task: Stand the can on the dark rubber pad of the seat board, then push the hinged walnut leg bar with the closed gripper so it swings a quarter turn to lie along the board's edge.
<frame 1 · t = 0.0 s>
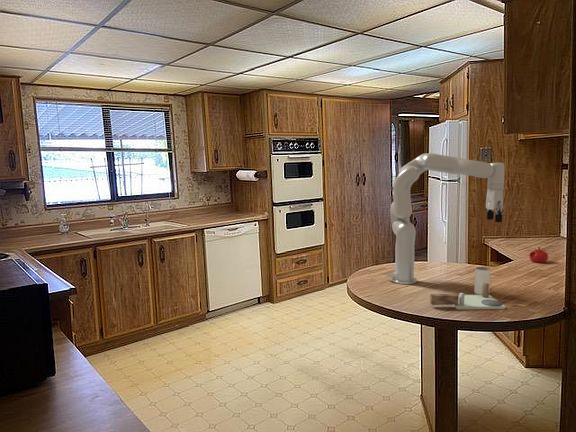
hand: (494, 220, 223), 31 cm above the counter, tool pointing down, fingers open, 9 cm apart
leg: (444, 299, 187), point 4 cm above the counter, hinge at 0.0°
board: (473, 303, 192), on the counter
pomegranate: (538, 262, 264), on the counter
can: (481, 293, 205), on the counter
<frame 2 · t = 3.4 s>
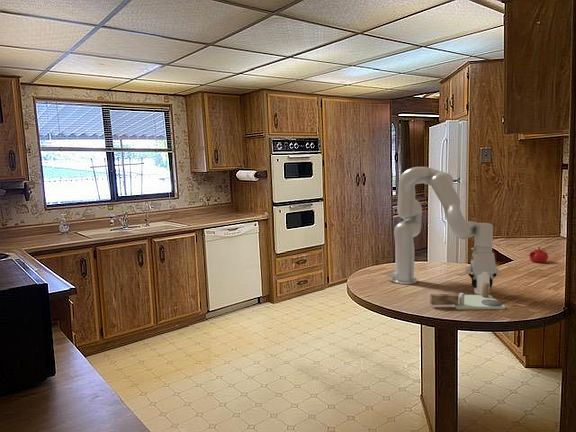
hand: (481, 286, 205), 3 cm above the counter, tool pointing down, fingers closed on can, 6 cm apart
can: (481, 293, 205), on the counter, touching gripper
everything else where it was.
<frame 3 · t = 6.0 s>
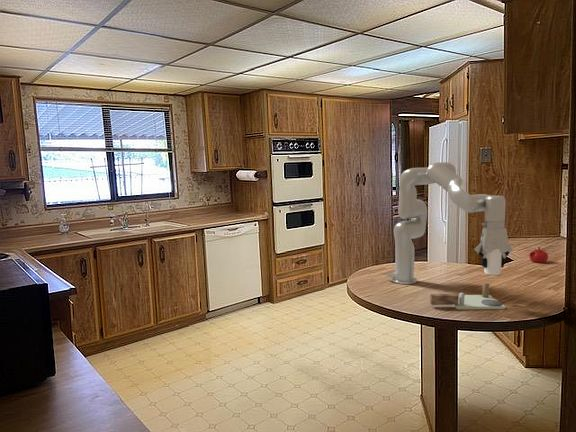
hand: (492, 266, 186), 17 cm above the counter, tool pointing down, fingers closed on can, 6 cm apart
can: (492, 274, 186), point 14 cm above the counter, touching gripper
everything else where it was.
when the fingers open (6 cm above the counter, at t = 8.5 s): can drops 1 cm, resting on board.
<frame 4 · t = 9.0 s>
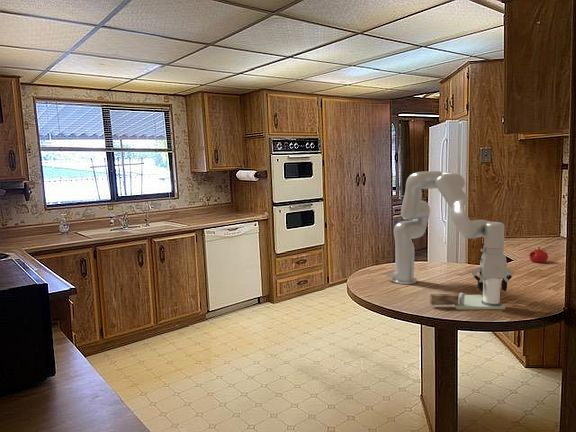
hand: (492, 290, 187), 7 cm above the counter, tool pointing down, fingers open, 9 cm apart
can: (491, 302, 188), point 1 cm above the counter, touching board
everything else where it was.
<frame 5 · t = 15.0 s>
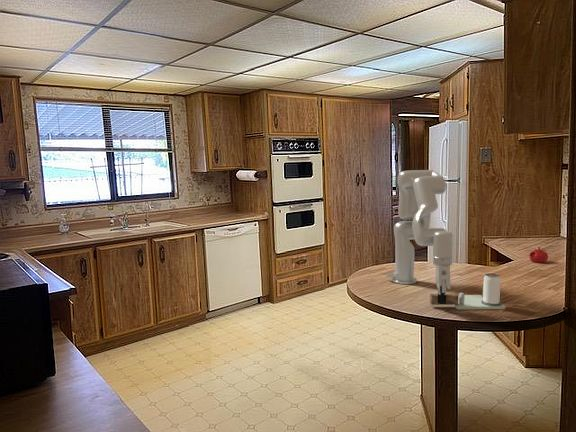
hand: (441, 303, 184), 3 cm above the counter, tool pointing down, fingers closed
leg: (444, 299, 187), point 4 cm above the counter, hinge at 1.3°, touching gripper
everything else where it was.
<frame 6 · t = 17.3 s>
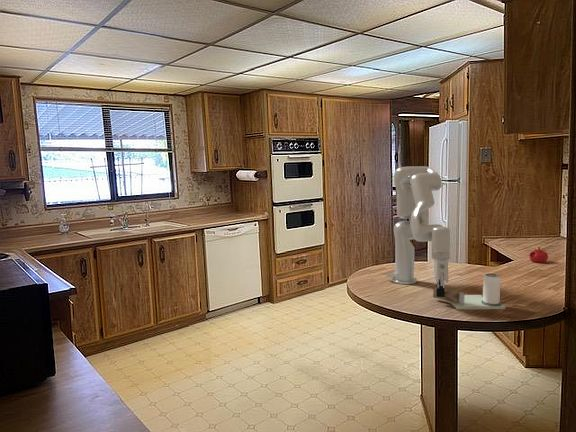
hand: (440, 296, 191), 3 cm above the counter, tool pointing down, fingers closed
leg: (446, 295, 192), point 4 cm above the counter, hinge at 49.0°, touching gripper
everything else where it was.
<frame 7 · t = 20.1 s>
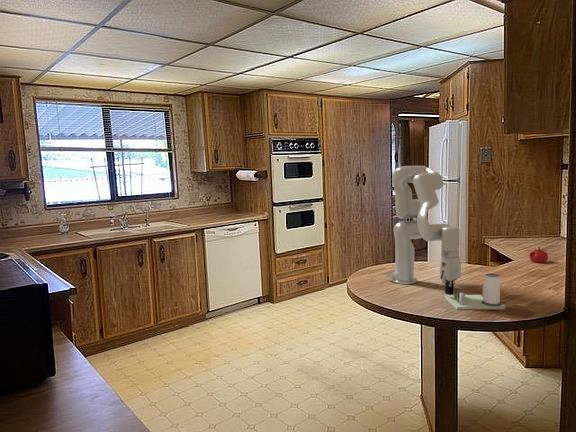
hand: (449, 294, 196), 3 cm above the counter, tool pointing down, fingers closed
leg: (458, 293, 194), point 4 cm above the counter, hinge at 97.1°, touching gripper
everything else where it was.
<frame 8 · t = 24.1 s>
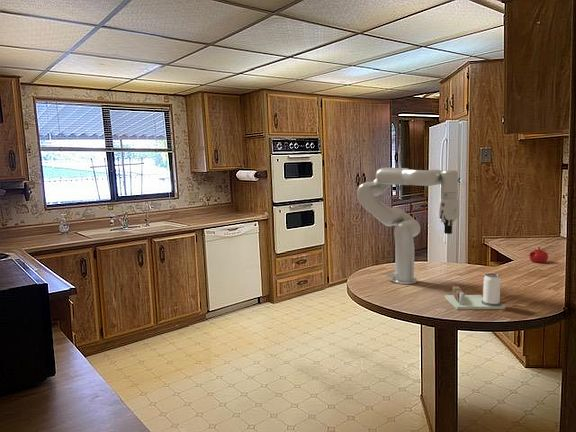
hand: (448, 233, 212), 27 cm above the counter, tool pointing down, fingers closed
leg: (458, 293, 194), point 4 cm above the counter, hinge at 97.2°
everything else where it was.
at the end: leg at +97° (first picture: +0°); can 0.2 cm from the target spot on the board, point 1.4 cm above the board's base; can tilted 0° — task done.
